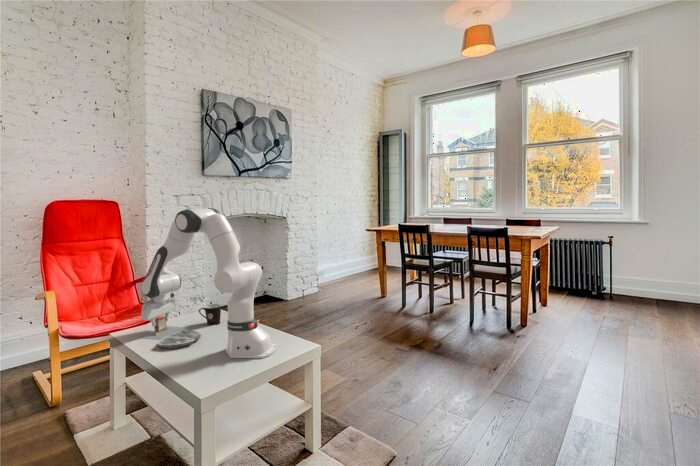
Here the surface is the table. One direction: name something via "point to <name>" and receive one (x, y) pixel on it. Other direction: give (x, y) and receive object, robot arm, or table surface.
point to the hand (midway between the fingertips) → (160, 323)
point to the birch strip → (161, 331)
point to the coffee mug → (212, 313)
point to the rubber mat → (159, 337)
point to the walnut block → (160, 324)
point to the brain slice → (179, 339)
